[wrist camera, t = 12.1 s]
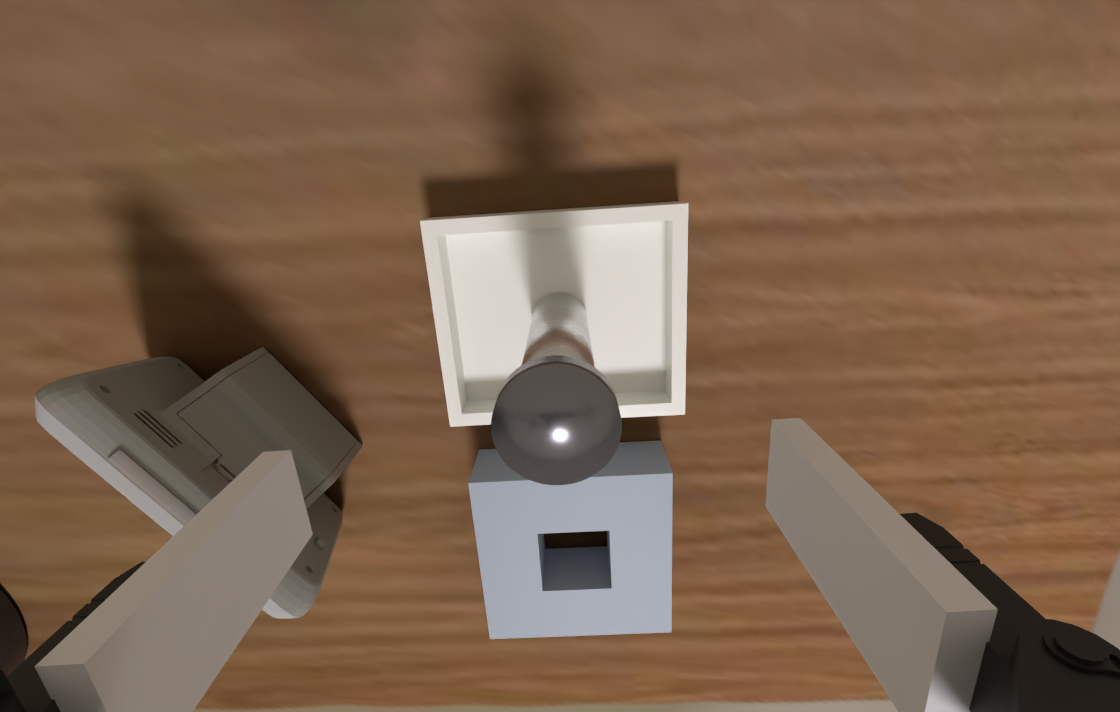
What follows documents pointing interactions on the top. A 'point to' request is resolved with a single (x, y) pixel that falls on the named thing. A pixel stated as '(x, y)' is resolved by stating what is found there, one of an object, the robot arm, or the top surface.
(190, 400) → the digital clock
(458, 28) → the top surface
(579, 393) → the pin
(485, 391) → the tray
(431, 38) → the top surface
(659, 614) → the socket block
